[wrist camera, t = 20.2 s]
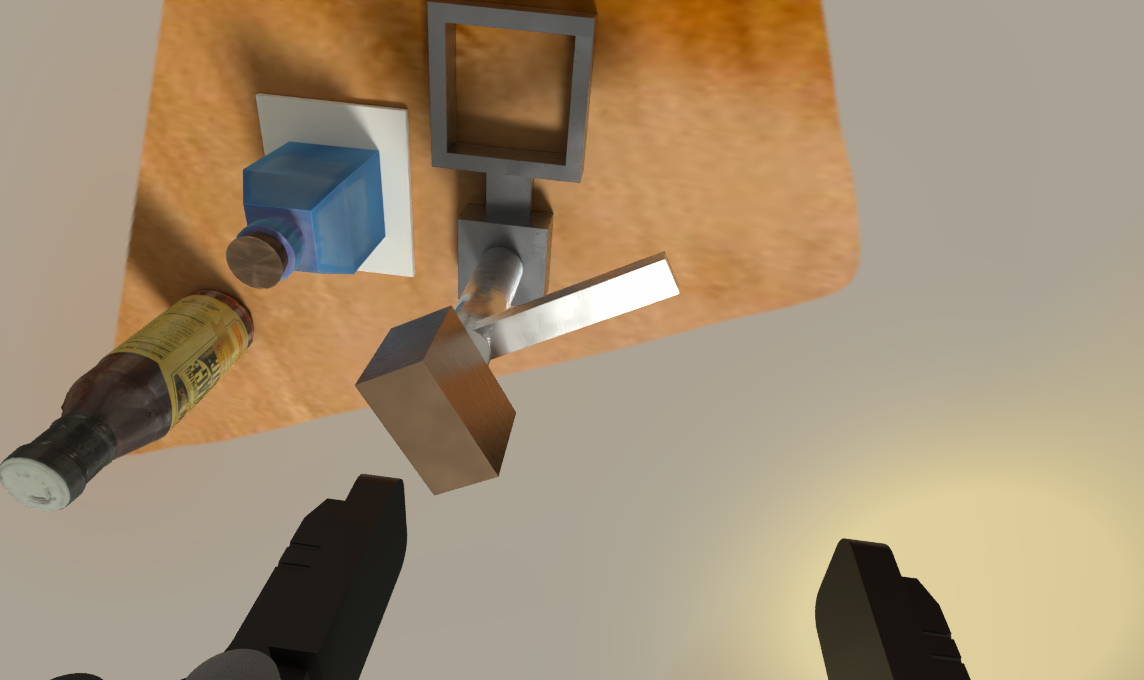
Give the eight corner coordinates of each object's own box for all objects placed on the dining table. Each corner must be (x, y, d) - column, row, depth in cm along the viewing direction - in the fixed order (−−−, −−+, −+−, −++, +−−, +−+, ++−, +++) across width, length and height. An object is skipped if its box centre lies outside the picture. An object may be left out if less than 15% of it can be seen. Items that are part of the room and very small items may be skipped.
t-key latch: (647, 150, 42) (644, 280, 27) (687, 249, 45) (705, 416, 30) (452, 232, 46) (354, 385, 31) (501, 318, 49) (434, 495, 34)
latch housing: (438, -3, 42) (424, 2, 39) (597, 13, 41) (594, 19, 39) (444, 277, 51) (433, 296, 49) (572, 292, 51) (568, 312, 48)
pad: (259, 93, 46) (255, 94, 45) (407, 109, 45) (405, 111, 45) (284, 258, 52) (281, 261, 51) (415, 274, 51) (413, 277, 51)
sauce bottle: (244, 365, 58) (75, 550, 41) (173, 326, 56) (-33, 500, 39) (271, 309, 54) (99, 485, 38) (196, 266, 53) (-17, 429, 36)
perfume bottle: (379, 150, 46) (302, 215, 36) (385, 236, 50) (316, 318, 39) (289, 141, 47) (187, 203, 36) (301, 227, 50) (211, 306, 40)
